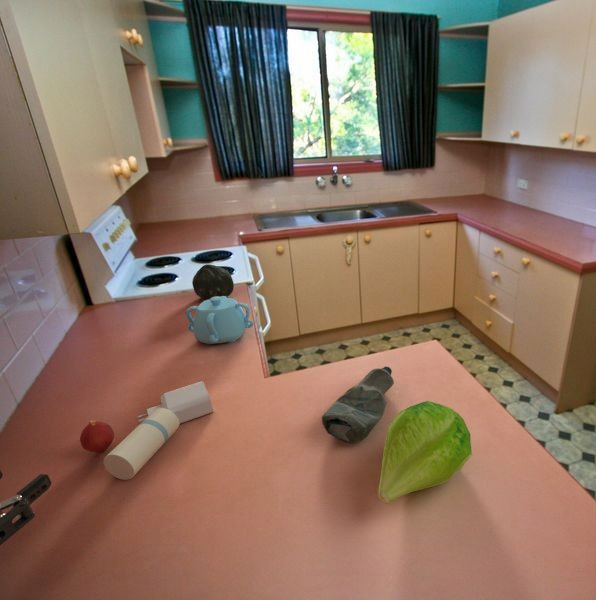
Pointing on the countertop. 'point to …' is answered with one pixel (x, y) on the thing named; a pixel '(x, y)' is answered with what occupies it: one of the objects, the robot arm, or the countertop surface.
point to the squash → (212, 282)
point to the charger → (185, 402)
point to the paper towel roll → (141, 444)
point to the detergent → (359, 407)
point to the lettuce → (422, 449)
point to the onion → (96, 436)
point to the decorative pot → (219, 320)
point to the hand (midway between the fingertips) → (23, 474)
